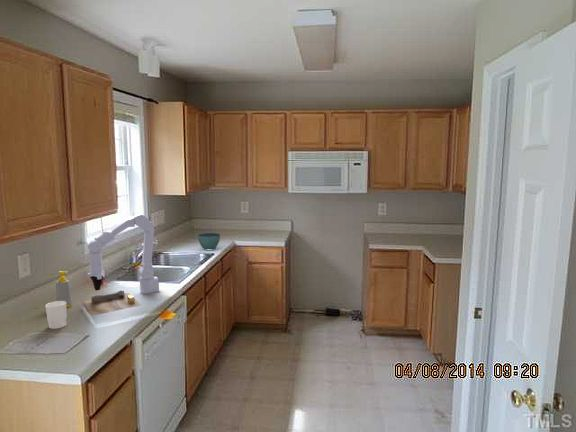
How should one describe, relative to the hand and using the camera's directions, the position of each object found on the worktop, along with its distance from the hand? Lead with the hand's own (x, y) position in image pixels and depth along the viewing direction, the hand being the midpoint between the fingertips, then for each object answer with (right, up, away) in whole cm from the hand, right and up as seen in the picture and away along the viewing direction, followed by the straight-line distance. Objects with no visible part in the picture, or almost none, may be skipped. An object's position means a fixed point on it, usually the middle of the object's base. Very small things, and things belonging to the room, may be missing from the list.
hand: (97, 289), depth 205 cm
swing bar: (+6, -4, -1) cm, 8 cm away
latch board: (+10, -7, -6) cm, 13 cm away
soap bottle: (-14, -7, -6) cm, 17 cm away
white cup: (-3, -10, -30) cm, 32 cm away
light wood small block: (+19, -5, -4) cm, 20 cm away
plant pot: (+32, +10, +127) cm, 132 cm away
